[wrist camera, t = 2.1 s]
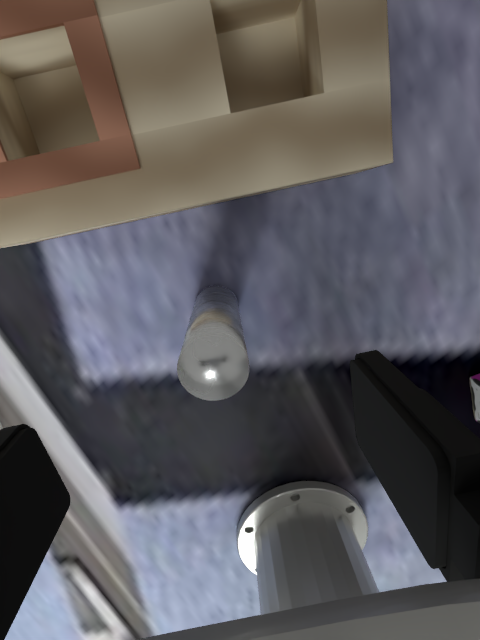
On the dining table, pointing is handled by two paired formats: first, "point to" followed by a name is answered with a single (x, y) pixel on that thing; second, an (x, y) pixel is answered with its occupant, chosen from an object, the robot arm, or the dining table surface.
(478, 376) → the candy bar box
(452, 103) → the dining table surface
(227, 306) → the pin
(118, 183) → the block
